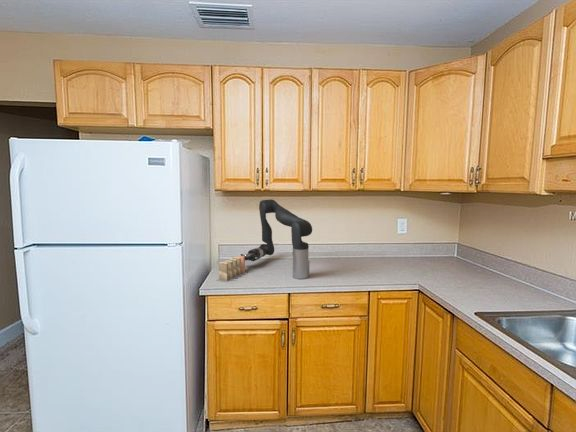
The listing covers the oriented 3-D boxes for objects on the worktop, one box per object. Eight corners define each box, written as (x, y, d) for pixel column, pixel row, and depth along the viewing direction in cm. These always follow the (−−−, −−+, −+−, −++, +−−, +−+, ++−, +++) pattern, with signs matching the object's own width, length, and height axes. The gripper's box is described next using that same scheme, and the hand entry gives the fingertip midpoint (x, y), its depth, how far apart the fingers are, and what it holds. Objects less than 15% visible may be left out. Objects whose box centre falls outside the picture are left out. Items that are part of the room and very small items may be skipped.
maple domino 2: (225, 277, 193) (225, 260, 192) (232, 278, 191) (232, 261, 190) (224, 278, 192) (223, 261, 191) (231, 279, 190) (231, 261, 189)
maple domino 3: (229, 275, 197) (229, 258, 196) (237, 276, 195) (236, 259, 194) (228, 275, 196) (228, 259, 195) (235, 276, 194) (235, 260, 193)
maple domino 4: (233, 273, 201) (233, 257, 200) (241, 274, 199) (240, 257, 198) (232, 274, 200) (232, 257, 199) (239, 275, 198) (239, 258, 197)
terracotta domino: (237, 271, 206) (237, 255, 204) (244, 272, 204) (244, 256, 203) (236, 272, 204) (236, 256, 203) (243, 273, 202) (243, 256, 201)
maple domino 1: (220, 279, 189) (220, 262, 188) (228, 280, 187) (228, 262, 186) (219, 280, 188) (218, 262, 187) (226, 281, 186) (226, 263, 185)
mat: (237, 271, 208) (237, 270, 208) (248, 272, 205) (248, 271, 204) (215, 281, 187) (215, 280, 187) (227, 283, 183) (227, 282, 183)
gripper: (246, 247, 222) (232, 252, 207) (264, 249, 217) (251, 254, 201) (246, 258, 223) (232, 264, 207) (264, 260, 218) (251, 266, 202)
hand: (241, 259), depth 204 cm, fingers closed
